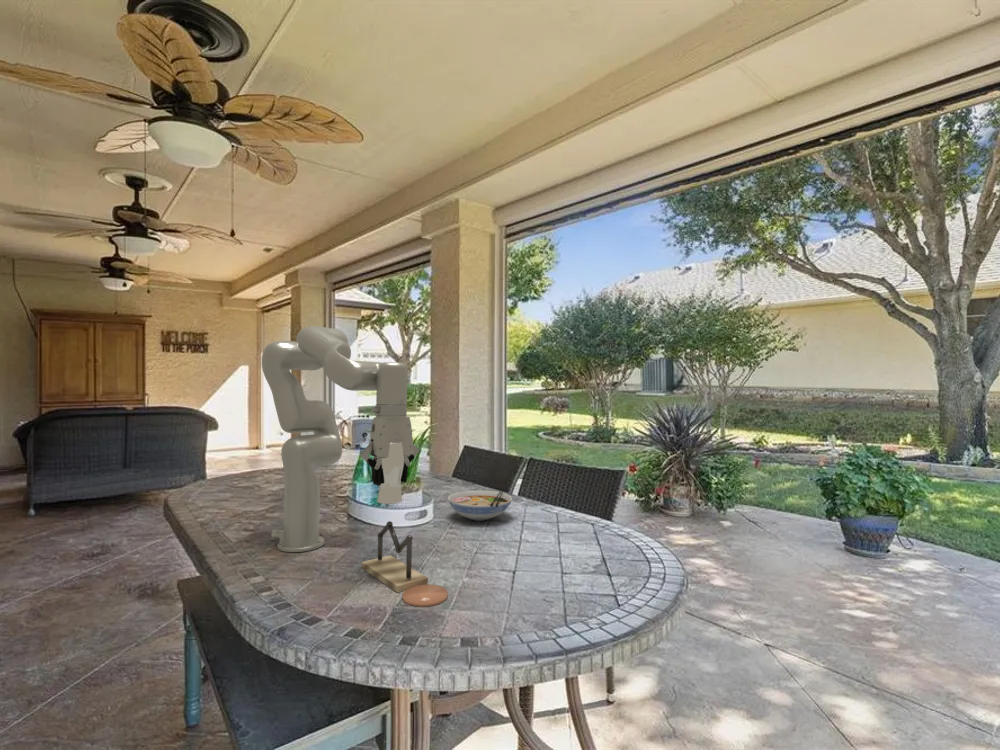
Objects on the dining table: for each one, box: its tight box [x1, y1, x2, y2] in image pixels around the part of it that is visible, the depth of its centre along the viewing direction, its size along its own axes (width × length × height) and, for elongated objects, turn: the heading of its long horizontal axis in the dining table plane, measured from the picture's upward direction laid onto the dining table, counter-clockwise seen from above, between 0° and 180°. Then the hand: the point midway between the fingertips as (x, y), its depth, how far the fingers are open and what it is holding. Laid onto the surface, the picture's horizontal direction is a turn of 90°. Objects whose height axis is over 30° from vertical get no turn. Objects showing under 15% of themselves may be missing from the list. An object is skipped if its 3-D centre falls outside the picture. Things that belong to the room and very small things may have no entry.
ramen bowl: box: [447, 489, 513, 522], centre depth 175 cm, size 25×23×8 cm
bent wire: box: [376, 521, 414, 578], centre depth 123 cm, size 16×2×11 cm, turn 40°
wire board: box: [361, 555, 429, 593], centre depth 123 cm, size 19×8×2 cm, turn 40°
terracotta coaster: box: [401, 584, 449, 608], centre depth 111 cm, size 10×10×1 cm
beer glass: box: [376, 442, 405, 505], centre depth 125 cm, size 7×7×15 cm
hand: (390, 482), depth 125 cm, fingers closed on beer glass, 6 cm apart
